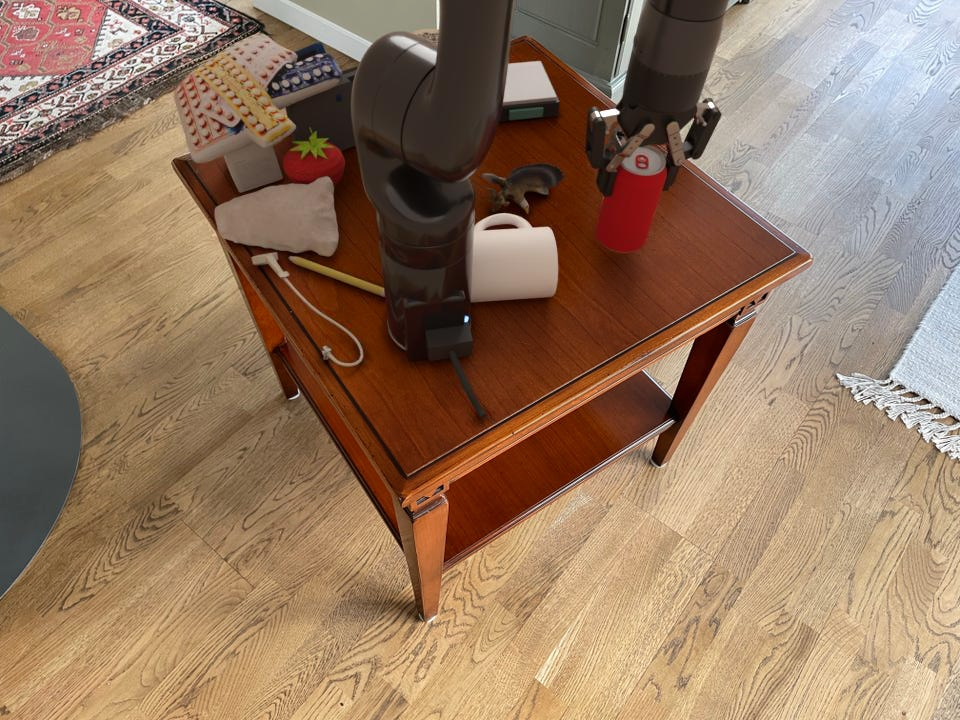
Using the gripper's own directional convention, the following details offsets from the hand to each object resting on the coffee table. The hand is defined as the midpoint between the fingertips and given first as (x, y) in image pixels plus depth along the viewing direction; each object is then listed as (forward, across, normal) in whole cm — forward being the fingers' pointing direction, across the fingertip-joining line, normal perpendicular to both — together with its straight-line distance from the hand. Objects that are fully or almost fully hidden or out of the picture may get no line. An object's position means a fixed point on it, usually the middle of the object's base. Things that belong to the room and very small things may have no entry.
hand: (633, 188), depth 80 cm
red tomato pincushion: (+10, -35, +15) cm, 40 cm away
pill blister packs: (0, -37, +15) cm, 40 cm away
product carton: (+10, -43, +22) cm, 50 cm away
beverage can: (+8, 0, 0) cm, 8 cm away
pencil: (+11, -34, +1) cm, 36 cm away
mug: (+10, -15, -2) cm, 18 cm away
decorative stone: (+7, -33, +8) cm, 35 cm away
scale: (+10, -5, +32) cm, 34 cm away
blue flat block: (+3, -34, +31) cm, 46 cm away
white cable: (+10, -35, -13) cm, 38 cm away
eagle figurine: (+10, -10, +10) cm, 18 cm away
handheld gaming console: (+10, -27, +27) cm, 40 cm away
